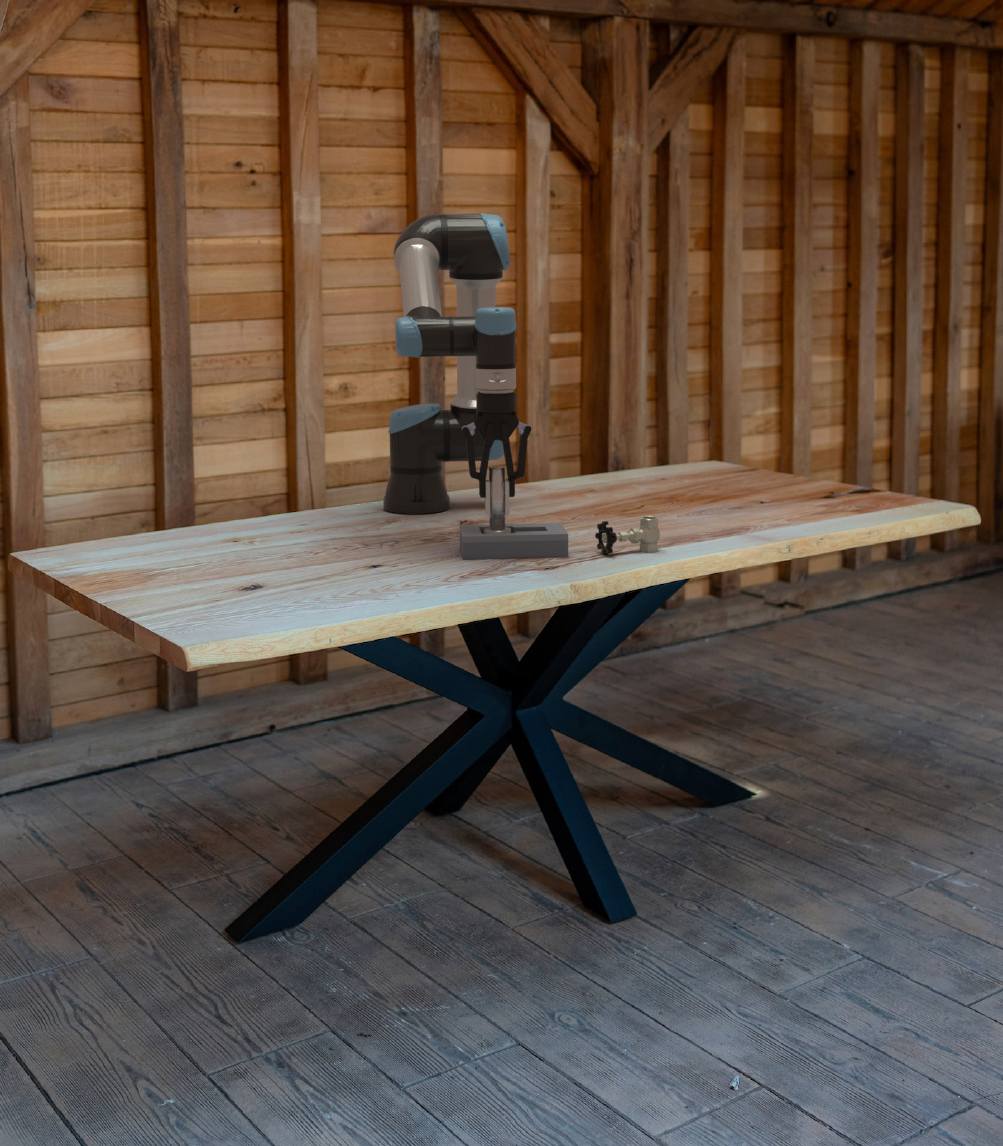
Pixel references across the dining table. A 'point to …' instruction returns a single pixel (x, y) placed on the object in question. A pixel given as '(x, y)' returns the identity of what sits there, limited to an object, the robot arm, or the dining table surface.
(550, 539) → the keyhole board
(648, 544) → the valve
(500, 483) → the flanged metal peg
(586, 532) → the dining table surface
